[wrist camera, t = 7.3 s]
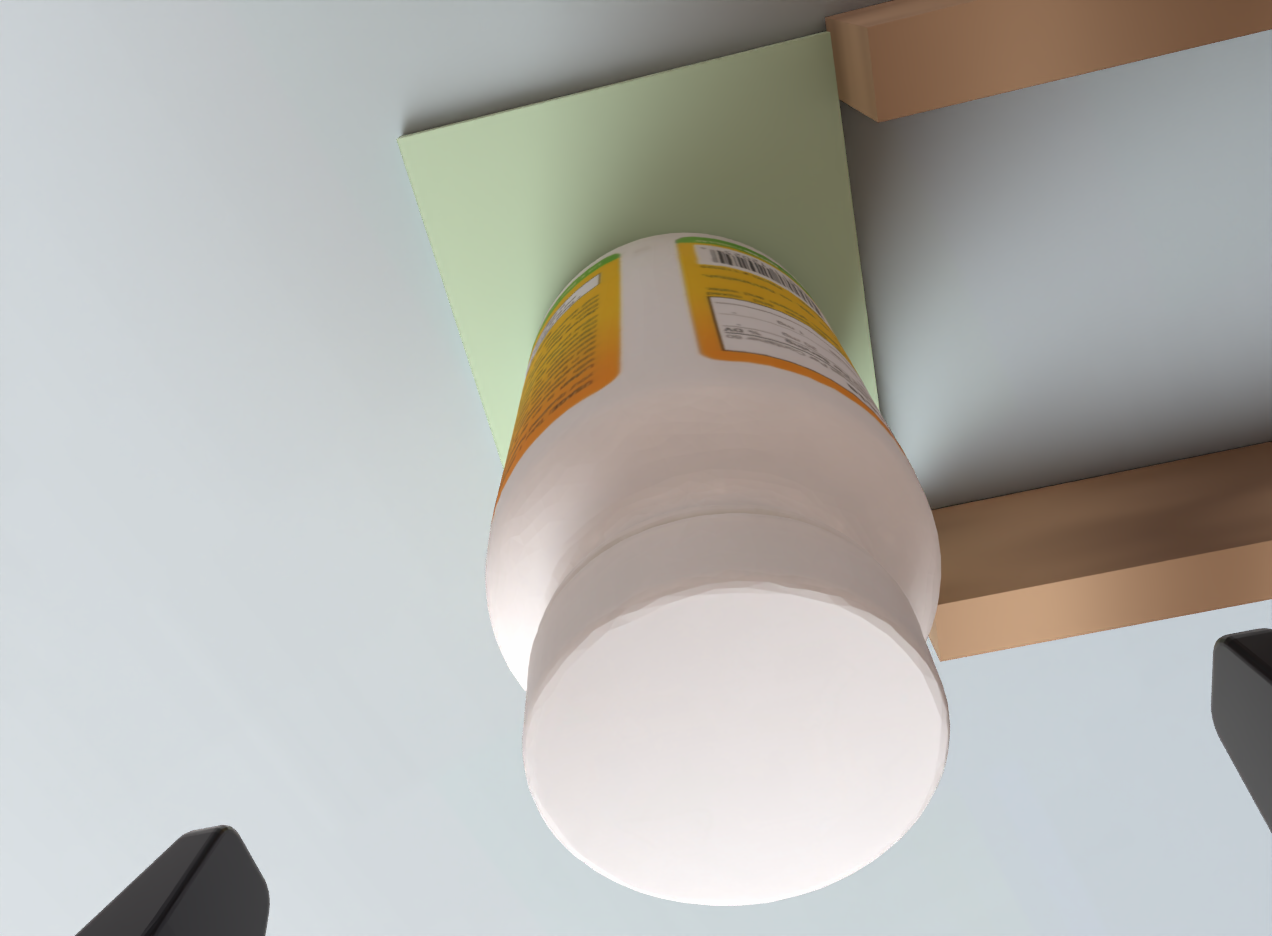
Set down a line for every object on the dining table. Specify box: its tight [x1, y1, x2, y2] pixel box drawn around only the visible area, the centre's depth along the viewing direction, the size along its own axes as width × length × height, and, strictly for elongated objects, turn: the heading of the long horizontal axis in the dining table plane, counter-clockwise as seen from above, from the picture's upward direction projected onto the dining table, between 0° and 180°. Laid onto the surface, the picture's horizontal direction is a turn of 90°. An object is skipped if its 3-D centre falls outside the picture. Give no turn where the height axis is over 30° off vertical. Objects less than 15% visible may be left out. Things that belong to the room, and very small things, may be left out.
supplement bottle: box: [485, 233, 950, 906], centre depth 14 cm, size 5×5×10 cm
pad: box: [396, 31, 880, 469], centre depth 18 cm, size 7×10×1 cm
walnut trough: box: [825, 0, 1272, 662], centre depth 16 cm, size 10×10×3 cm
